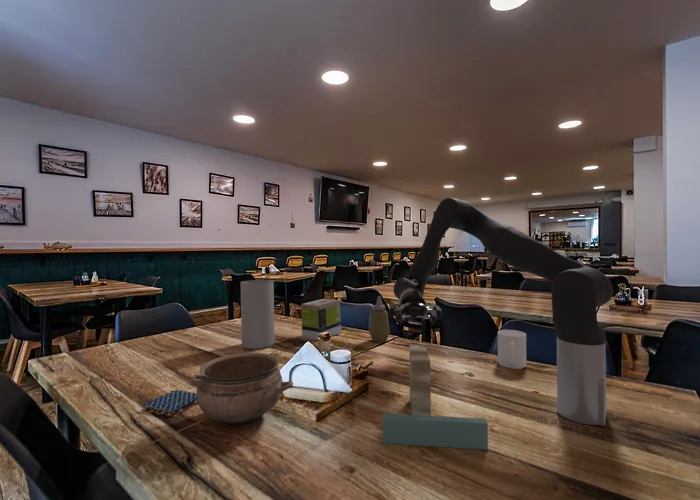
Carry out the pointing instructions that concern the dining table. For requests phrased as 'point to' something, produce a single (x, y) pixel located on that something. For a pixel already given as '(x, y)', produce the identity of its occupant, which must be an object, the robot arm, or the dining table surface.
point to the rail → (435, 431)
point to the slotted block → (420, 381)
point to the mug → (512, 349)
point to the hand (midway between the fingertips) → (416, 319)
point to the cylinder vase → (257, 314)
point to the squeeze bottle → (379, 322)
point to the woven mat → (172, 403)
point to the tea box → (320, 318)
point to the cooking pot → (239, 387)
